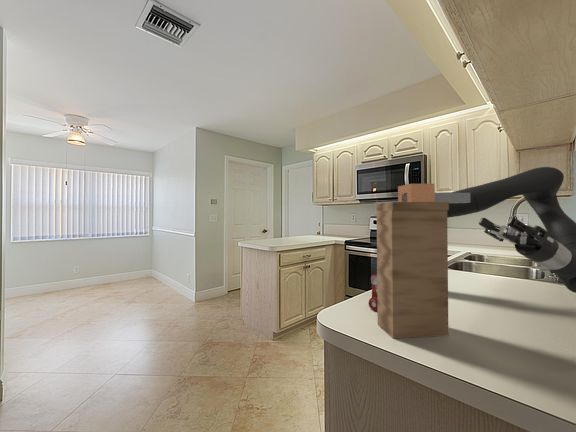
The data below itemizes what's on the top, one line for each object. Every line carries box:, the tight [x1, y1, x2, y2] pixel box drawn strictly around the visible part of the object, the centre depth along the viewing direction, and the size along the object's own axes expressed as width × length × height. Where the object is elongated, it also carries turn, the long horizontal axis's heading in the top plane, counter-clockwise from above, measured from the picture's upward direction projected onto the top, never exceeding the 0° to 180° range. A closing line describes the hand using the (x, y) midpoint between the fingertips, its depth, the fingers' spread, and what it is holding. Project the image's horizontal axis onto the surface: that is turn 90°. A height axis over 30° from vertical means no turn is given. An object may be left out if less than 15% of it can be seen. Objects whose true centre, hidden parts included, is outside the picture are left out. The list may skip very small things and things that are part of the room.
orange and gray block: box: [397, 183, 470, 203], centre depth 66 cm, size 6×17×4 cm, turn 96°
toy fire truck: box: [368, 274, 378, 312], centre depth 78 cm, size 7×12×10 cm, turn 31°
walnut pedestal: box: [375, 201, 449, 340], centre depth 66 cm, size 9×14×32 cm, turn 96°
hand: (494, 220), depth 68 cm, fingers open, 8 cm apart
